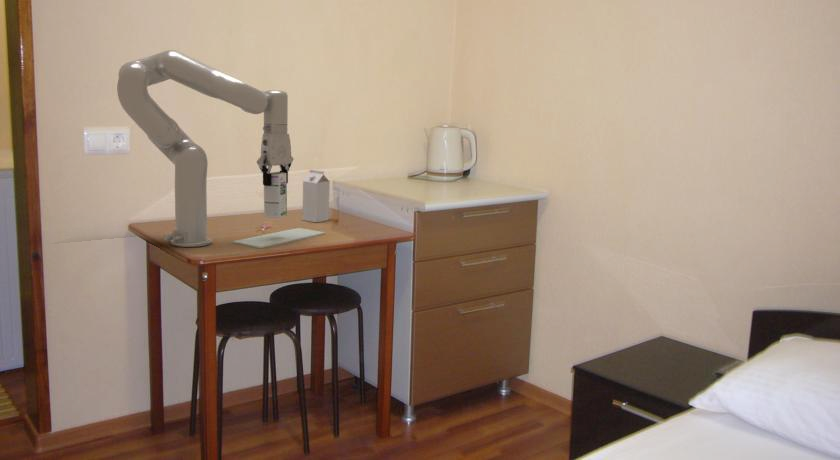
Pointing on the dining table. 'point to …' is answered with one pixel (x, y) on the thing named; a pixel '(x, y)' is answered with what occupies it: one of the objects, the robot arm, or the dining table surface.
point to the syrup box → (276, 196)
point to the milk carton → (316, 197)
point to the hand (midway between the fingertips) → (275, 183)
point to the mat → (278, 238)
